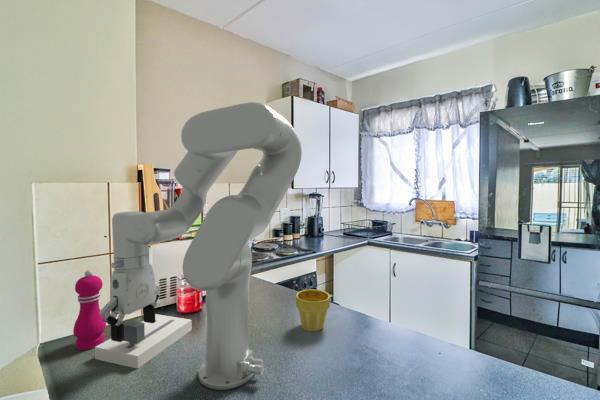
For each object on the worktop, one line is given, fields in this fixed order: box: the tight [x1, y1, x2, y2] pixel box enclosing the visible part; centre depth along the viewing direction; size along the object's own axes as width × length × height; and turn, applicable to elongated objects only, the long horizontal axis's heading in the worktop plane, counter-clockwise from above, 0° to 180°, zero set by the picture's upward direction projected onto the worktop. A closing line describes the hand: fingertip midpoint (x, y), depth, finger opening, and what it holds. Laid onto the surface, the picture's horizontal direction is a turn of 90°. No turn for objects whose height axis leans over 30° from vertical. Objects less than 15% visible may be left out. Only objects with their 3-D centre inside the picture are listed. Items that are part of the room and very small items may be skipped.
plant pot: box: [295, 289, 331, 332], centre depth 93 cm, size 10×10×10 cm
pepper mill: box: [72, 269, 107, 351], centre depth 81 cm, size 7×7×20 cm
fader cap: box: [121, 319, 145, 345], centre depth 75 cm, size 5×2×5 cm, turn 73°
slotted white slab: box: [94, 313, 193, 369], centre depth 82 cm, size 13×20×3 cm, turn 163°
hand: (134, 330), depth 75 cm, fingers open, 9 cm apart
